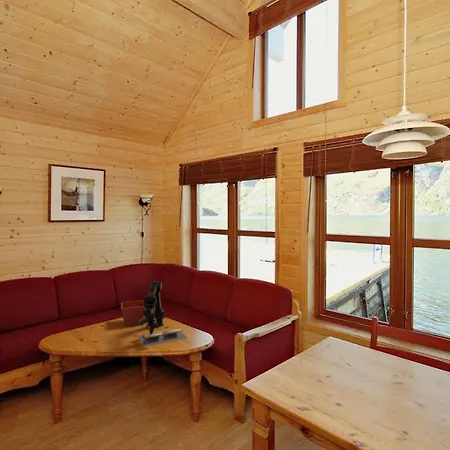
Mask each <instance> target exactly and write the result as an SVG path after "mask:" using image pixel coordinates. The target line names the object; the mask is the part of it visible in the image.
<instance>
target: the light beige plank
mask: <svg viewBox="0 0 450 450" xmlns="http://www.w3.org/2000/svg"><path fill="white" fill-rule="evenodd" d="M161 335H162V332H161V333H155V334H150V335H148V336H146V339H150V338H155V337H159V336H161Z"/></svg>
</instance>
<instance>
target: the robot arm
mask: <svg viewBox="0 0 450 450" xmlns="http://www.w3.org/2000/svg"><path fill="white" fill-rule="evenodd" d="M162 287H163V283H162V282H161V281H157V280H156V281H155V280H154V281H153V280H152V281H151V282H150V286H149V291H148V293H147V294H146V295H145V297H144V299H143V300H144V307H145V311H144V312H143V315H144V317H143V318H141V319H139V320H138V321H139V323H140V325H139V326H140V327H141V326H143V325H145V326H146V327H147V328H148V331H149V332H148V333H150V334H152V333H153V332H155V331H154V330H155V329H158V328H159V327H164V326H165V324H164V319H166V314H165V311H164V307H162V304H161V290H162Z"/></svg>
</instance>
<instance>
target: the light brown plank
mask: <svg viewBox="0 0 450 450" xmlns="http://www.w3.org/2000/svg"><path fill="white" fill-rule="evenodd" d="M175 329H176V328H174V327H173V328H170V329H163V330H159V331H158V330H157V331H153V333H152V334H155V333H161V332H162V335H164V333H165V332H167V331H169V330H175ZM142 335H143V337H144V338H145V339H146V336H148V335H150V332H148V333H147V332H146V333H143V334H142ZM162 335H161V336H162Z"/></svg>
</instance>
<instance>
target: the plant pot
mask: <svg viewBox="0 0 450 450" xmlns="http://www.w3.org/2000/svg"><path fill="white" fill-rule="evenodd" d="M145 309H146V307H144V299H140V300H129V301H122V302H120V310H121V315H122V320H123V323H124V325H125V327H132V326H141V325H140V323H139V321H138V320H139V319H141V318H143V317H145V316H144V315H143V312H144V311H145Z"/></svg>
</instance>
